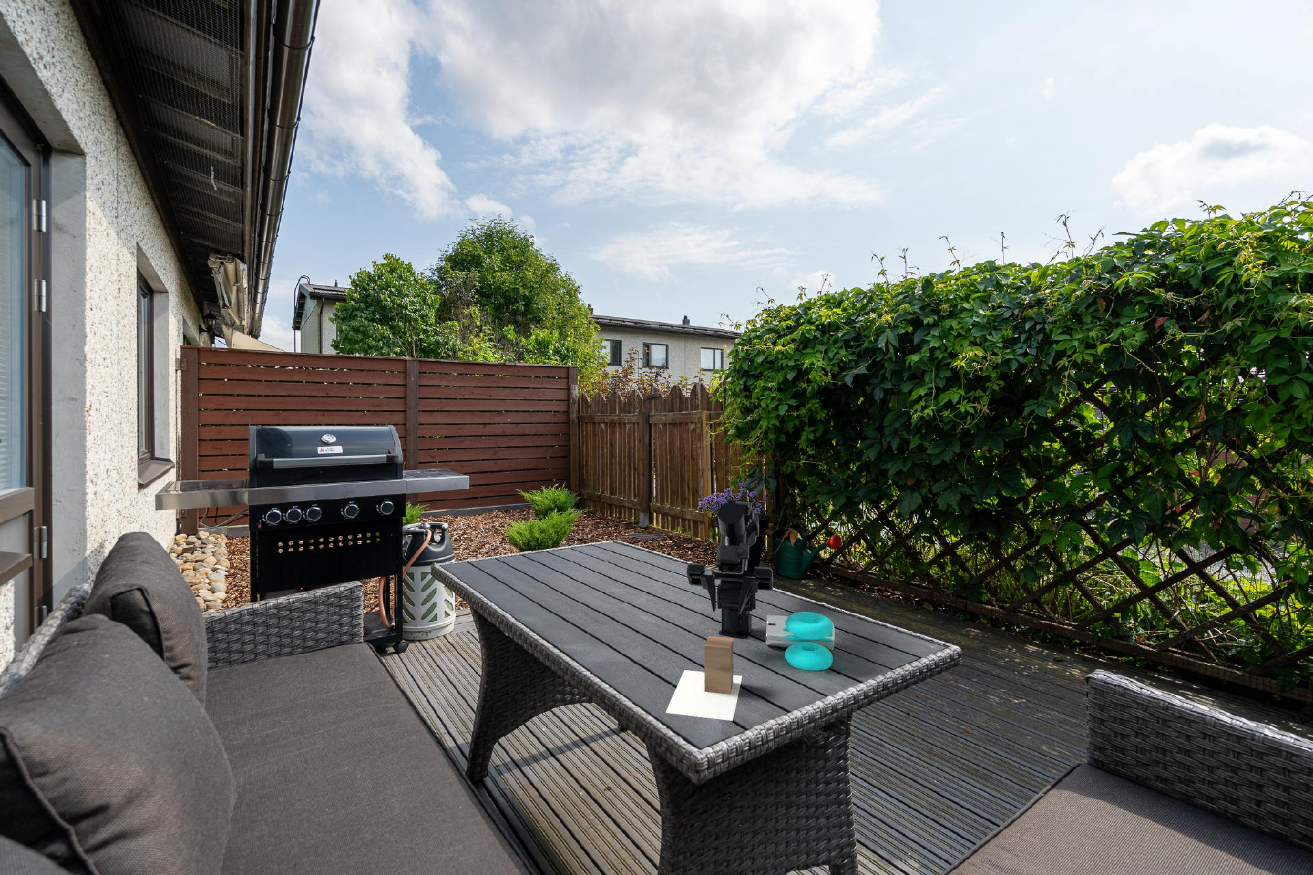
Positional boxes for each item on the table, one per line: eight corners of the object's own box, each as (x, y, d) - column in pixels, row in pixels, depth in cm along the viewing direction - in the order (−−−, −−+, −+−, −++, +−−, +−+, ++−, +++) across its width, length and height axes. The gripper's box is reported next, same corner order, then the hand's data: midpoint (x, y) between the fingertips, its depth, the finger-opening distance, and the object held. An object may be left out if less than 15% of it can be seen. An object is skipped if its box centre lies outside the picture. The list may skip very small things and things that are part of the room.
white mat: (684, 672, 126) (684, 670, 126) (742, 678, 123) (742, 675, 123) (665, 715, 108) (665, 712, 108) (732, 723, 105) (732, 720, 105)
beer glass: (830, 648, 141) (765, 642, 143) (831, 618, 142) (766, 612, 144) (834, 654, 134) (765, 648, 136) (835, 622, 135) (767, 616, 137)
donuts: (792, 626, 124) (780, 610, 134) (792, 674, 125) (779, 654, 135) (840, 625, 125) (824, 609, 135) (839, 673, 125) (823, 653, 135)
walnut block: (708, 680, 121) (708, 636, 121) (733, 682, 120) (733, 638, 119) (704, 691, 116) (704, 645, 116) (730, 694, 115) (730, 648, 114)
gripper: (687, 527, 135) (678, 590, 125) (772, 531, 131) (769, 597, 120) (693, 553, 143) (685, 615, 133) (774, 558, 139) (771, 622, 129)
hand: (726, 612), depth 129 cm, fingers open, 5 cm apart
